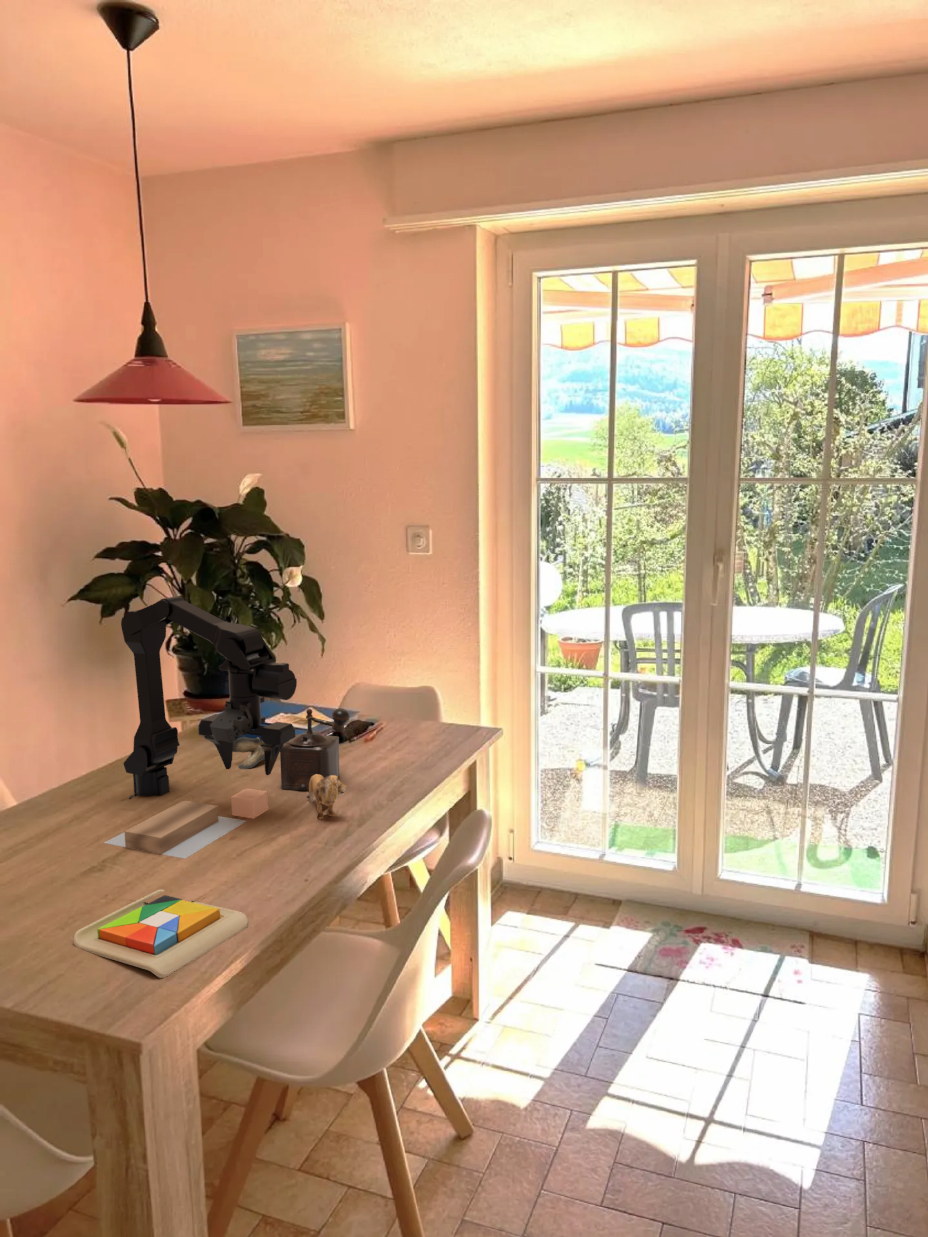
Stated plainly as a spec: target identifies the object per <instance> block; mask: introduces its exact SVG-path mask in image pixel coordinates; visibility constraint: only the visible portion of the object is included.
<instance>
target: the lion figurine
mask: <svg viewBox="0 0 928 1237" xmlns="http://www.w3.org/2000/svg"><path fill="white" fill-rule="evenodd" d="M347 788H348V787H347V785H346V784H344V783H342V782H341V781H340V780H339V778H338V777H337V776H336V775H330V776H327V777H323V776H322V775H319V774H315V775H313V776H312V777H311V779H310V782H309V791H308V794H309V795H306V798H307V799H308V802H309V803H314V797H315V801H316V811H317V813H318V814H317V817H316V818H317V820H323V819H324V813H323V805H324V806H325V807H326V806H328V807H327V814H328V816H329V817H334V816H335V815H336V812H334V810H333V808H334V803H335V802H336V800H338V799H339V795H341V796H343V795H344V794H345V791H346V789H347Z"/></svg>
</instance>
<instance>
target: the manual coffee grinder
mask: <svg viewBox="0 0 928 1237" xmlns="http://www.w3.org/2000/svg"><path fill="white" fill-rule="evenodd" d="M305 714H306V715H305V719H306V720H307V729H306V730H307V731H306V732H303V733H301V734H300V733H295V738H293V739H291V740H289V741H288V742H286V743H284V745H283V747H282V749H281V750H280V752H279V755H280V780H281V787H280V788H281V790H286V791H287V790H288V791H289V790H290V791H301V792H302V791H305V792H307V791H308V792H309V782H310V779H311V777H312V776H313V775H315V774H319V775H322V776H323V777H327V776H330V775H336V776H337V777H338V779H339V778H340V740H339V739H340V737H339V736H335V735H323V734H322V733H320V732H316V731H315V732H314V731H313V729H312V726H313V724H312V721H313V722H315V723H318V724H321V725H325V726H329V727H331V728H332V730H334V731H335V732H336V733H338V732H341V733H342V732H344V731H345V730H346V729H345V728H346V727H345V725H346V724H347V723H348V721H349V720H350V716H351V715H350V712H349V711H348V710H346V709H344V708H342V707H340V708H336V709H334V710H333V711H332V713H331V717H332V719H333V722H332V721H328V720H324V719H319V718H317V717H313V710H312V709H311V708H308V709H307V710H306V713H305Z"/></svg>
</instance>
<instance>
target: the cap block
mask: <svg viewBox="0 0 928 1237" xmlns="http://www.w3.org/2000/svg"><path fill="white" fill-rule="evenodd" d="M230 800H231V801H230V802H231V815H232V816H235V817H242V818H249V819H256V818H257V817H259V816H260V815H262V814H263V813H265V812H267V811H268V810H269V796H268V791H266V790H259V789H254V788H253V789H252V788H247V787H246V788H244V789H242V790H240V791H239V792H237V793H235V794H233V795H232V796H231V797H230Z"/></svg>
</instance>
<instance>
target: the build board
mask: <svg viewBox="0 0 928 1237" xmlns="http://www.w3.org/2000/svg"><path fill="white" fill-rule="evenodd" d="M218 819H219V821H218V822H216V823H214V824H213V825H211V826H209V827H207V828H206V829H204V830H202V831H201V832H199V833H197V834H195V835H194V836H192V837H190V838H189V839H187V840H185V841H183V842H182V843H180V844H178V845H177V846H175V847H173V848H171V849H170V850H168V851H166V852H165V853H163V854H161V855H163V856H169V857H173V858H179V859H183V860H186V859H188V858H189V857H191V856H192V855H194V854H196V853H197V852H199V851H200V850H202V849H203V848H206V847H207V846H209V845H210V844H212V843H214V842H215V841H217V840H218V839H220V838H221V837H224V836H225V835H227V834H228V833H230V832H232V831H233V830H235V829H236V828H237V827H239V826H241V825H243V824H245V823H246V822H247V820H245V819H239V818H238V819H237V818H232V817H225V816H221V815H218ZM103 844H106V845H111V846H116V847H122V848H126V849H128V848H127V847H126V846H125V832H124V831H123V832H122V833H120V834H118V835H116V836H114V837H112V838H110V839H108V840H107V841H104V842H103ZM130 849H133V848H130ZM133 850H134V849H133ZM135 850H138V849H135ZM138 851H139V850H138ZM140 851H142V852H144V851H143V850H140ZM146 852H148V851H146ZM148 853H149V852H148ZM151 853H153V852H151ZM153 854H154V853H153ZM156 855H159V854H158V853H156Z"/></svg>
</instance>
